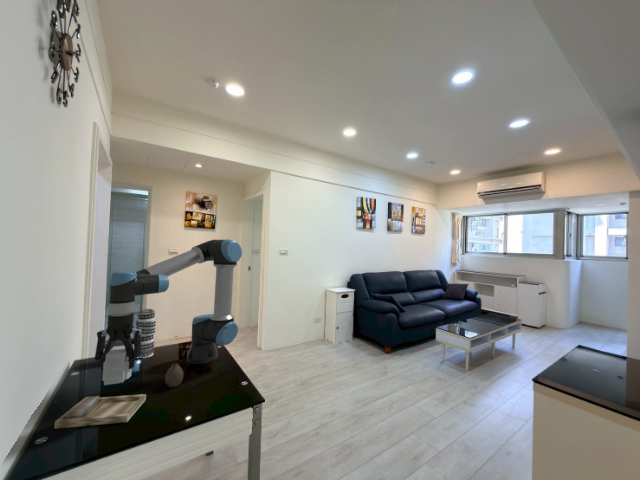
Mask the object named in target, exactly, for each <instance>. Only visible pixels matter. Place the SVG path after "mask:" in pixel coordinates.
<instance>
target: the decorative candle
mask: <svg viewBox="0 0 640 480" xmlns="http://www.w3.org/2000/svg"><path fill="white" fill-rule="evenodd" d="M155 313H156V311H155V310H154V309H153V308H144V309H141V310H139V312H138V313H137V314H138V315H137V317H138V318H137V320H136V323H135V326H136V328H135V329H142V333H141V355H140V356H139V357H138V358H143V359H147V357H148V358H150V357H152V356H153V355H154V352H155V351H154V350H155V347H154V346H155V340H154V334H155V333H156V328H155V327H156V323H157V321H155V319H156V317H155Z"/></svg>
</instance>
